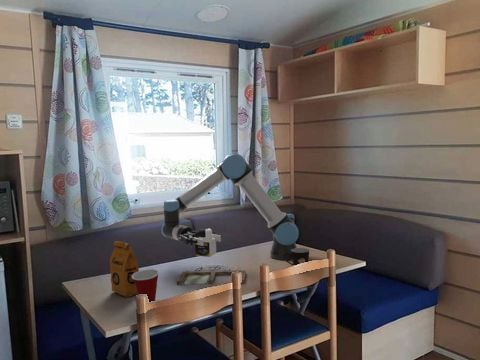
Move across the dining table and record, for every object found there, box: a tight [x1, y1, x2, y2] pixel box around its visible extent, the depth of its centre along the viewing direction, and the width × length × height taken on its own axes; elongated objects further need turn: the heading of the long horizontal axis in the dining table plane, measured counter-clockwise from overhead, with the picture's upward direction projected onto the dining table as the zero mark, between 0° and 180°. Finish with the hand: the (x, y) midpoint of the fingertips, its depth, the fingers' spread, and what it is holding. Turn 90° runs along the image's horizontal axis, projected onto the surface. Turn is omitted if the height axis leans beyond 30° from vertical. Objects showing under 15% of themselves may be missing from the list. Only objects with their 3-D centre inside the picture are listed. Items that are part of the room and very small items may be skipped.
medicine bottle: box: [195, 227, 217, 258], centre depth 190 cm, size 7×7×12 cm
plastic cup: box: [132, 268, 160, 302], centre depth 166 cm, size 11×11×12 cm
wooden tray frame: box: [176, 269, 246, 286], centre depth 192 cm, size 30×14×2 cm, turn 87°
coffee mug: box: [283, 247, 310, 266], centre depth 199 cm, size 12×9×10 cm
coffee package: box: [109, 240, 140, 298], centre depth 177 cm, size 10×12×22 cm
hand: (211, 240), depth 187 cm, fingers closed on medicine bottle, 9 cm apart
